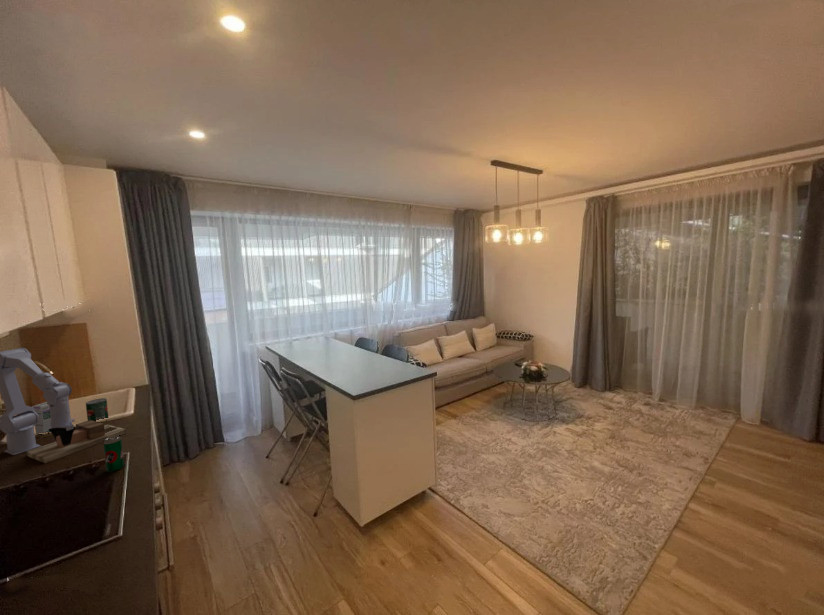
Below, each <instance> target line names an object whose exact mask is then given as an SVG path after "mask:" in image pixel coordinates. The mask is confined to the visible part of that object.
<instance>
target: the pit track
mask: <svg viewBox="0 0 824 615" xmlns="http://www.w3.org/2000/svg"><path fill="white" fill-rule="evenodd" d="M75 427H76V429H75V430H78V429H81V428H84V429H86V432H87V439H85V440H82V441H79V442H76V443H73V444H70V445H67V446H65V447H60V446H57V442H56V441H54V442H51V443H48V444H45V445H41V446H40V447H37V448H34V449H31V450H28V451H25V452H26V456H27V457H29V458H31V459H33V460H36V461H38V462H41V463H44V464H47V463H50V462H52V461H55V460H58V459H61V458H63V457H66V456H69V455H71V454H74V453H77V452H80V451H82V450H85V449H88V448H90V447H94V446H96V445H98V444H101V443H104V442H105V439H107V438H110V437H113V436H119V435H121V436H123V435H126V434H127V429H126V428H122V427H119V426H115V425H111V424H104V422H102V423H100V422H96V421H92V420H88V419H87V420H85V421H82V422H80V423H75ZM109 430H112V431H109ZM107 431H109V432H107ZM105 432H107V433H105ZM125 433H126V434H125ZM122 434H123V435H122Z"/></svg>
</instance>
